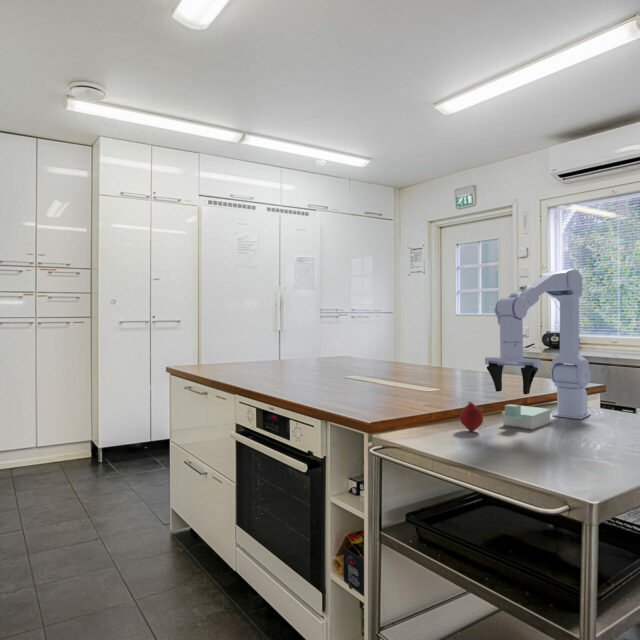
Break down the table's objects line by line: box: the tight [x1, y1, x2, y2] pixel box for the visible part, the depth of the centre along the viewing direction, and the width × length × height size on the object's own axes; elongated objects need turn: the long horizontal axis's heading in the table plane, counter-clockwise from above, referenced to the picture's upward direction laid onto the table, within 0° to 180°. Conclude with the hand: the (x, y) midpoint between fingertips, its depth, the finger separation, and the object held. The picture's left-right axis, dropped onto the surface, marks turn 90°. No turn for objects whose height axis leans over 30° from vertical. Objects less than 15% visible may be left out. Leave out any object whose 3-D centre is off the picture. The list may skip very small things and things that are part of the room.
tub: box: [502, 412, 551, 431], centre depth 138 cm, size 12×8×3 cm, turn 134°
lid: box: [501, 403, 552, 420], centre depth 136 cm, size 17×9×4 cm, turn 134°
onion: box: [459, 400, 484, 432], centre depth 130 cm, size 6×6×8 cm
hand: (512, 392), depth 132 cm, fingers open, 7 cm apart
